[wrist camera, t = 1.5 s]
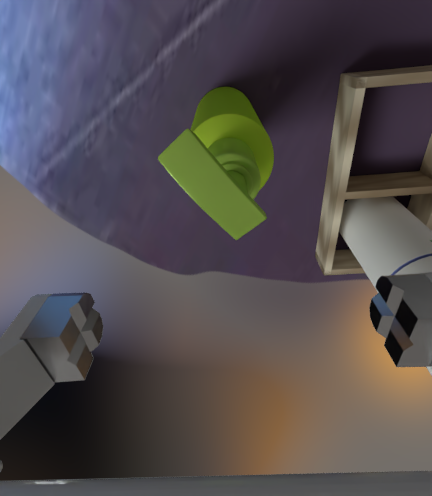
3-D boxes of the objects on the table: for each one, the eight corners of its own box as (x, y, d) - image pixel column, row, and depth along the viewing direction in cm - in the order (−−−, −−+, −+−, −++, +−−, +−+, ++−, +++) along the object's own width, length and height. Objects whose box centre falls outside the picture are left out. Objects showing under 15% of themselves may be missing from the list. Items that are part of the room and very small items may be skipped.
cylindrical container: (338, 193, 34) (516, 415, 14) (402, 185, 34) (685, 404, 13) (333, 243, 38) (465, 471, 18) (390, 236, 38) (593, 465, 17)
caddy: (340, 73, 27) (357, 77, 24) (463, 62, 27) (498, 65, 24) (315, 256, 40) (323, 275, 36) (399, 250, 39) (415, 269, 36)
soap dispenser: (220, 62, 27) (225, 92, 11) (265, 122, 30) (322, 218, 14) (176, 108, 29) (124, 191, 13) (221, 159, 32) (225, 281, 16)
